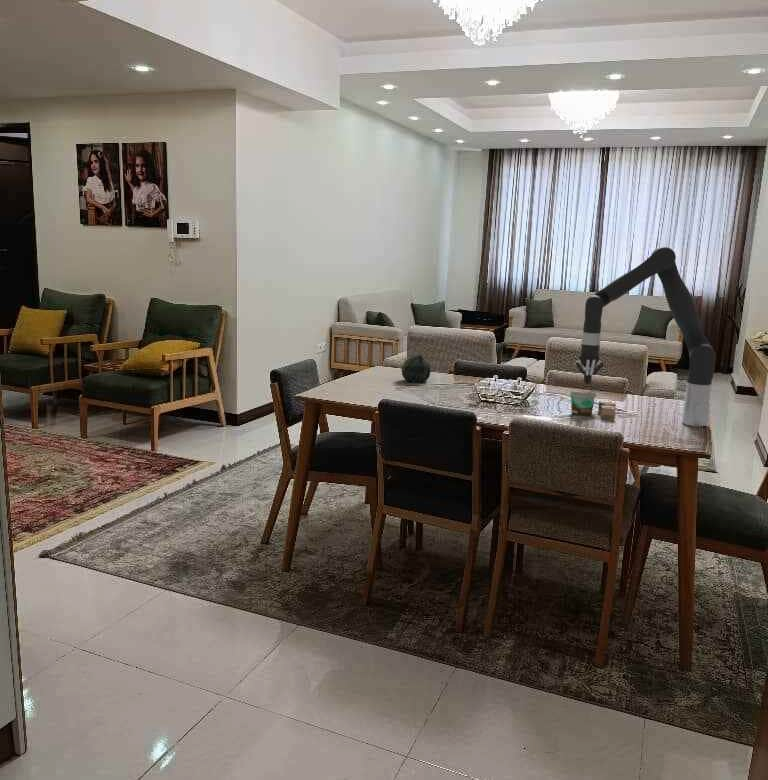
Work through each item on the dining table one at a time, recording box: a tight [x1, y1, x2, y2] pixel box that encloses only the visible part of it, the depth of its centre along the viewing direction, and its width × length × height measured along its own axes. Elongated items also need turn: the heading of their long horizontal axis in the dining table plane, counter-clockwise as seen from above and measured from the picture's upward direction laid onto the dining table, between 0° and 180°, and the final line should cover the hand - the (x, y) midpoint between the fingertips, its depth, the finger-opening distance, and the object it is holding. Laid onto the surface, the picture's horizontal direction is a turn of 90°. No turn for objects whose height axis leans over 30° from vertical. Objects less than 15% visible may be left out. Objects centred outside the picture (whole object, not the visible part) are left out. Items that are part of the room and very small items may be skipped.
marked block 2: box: [599, 405, 616, 421], centre depth 296 cm, size 5×5×5 cm
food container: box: [569, 389, 597, 417], centre depth 302 cm, size 12×6×10 cm, turn 114°
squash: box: [401, 354, 432, 383], centre depth 365 cm, size 14×15×15 cm
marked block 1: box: [597, 400, 617, 414], centre depth 304 cm, size 5×5×5 cm
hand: (587, 383), depth 300 cm, fingers closed
